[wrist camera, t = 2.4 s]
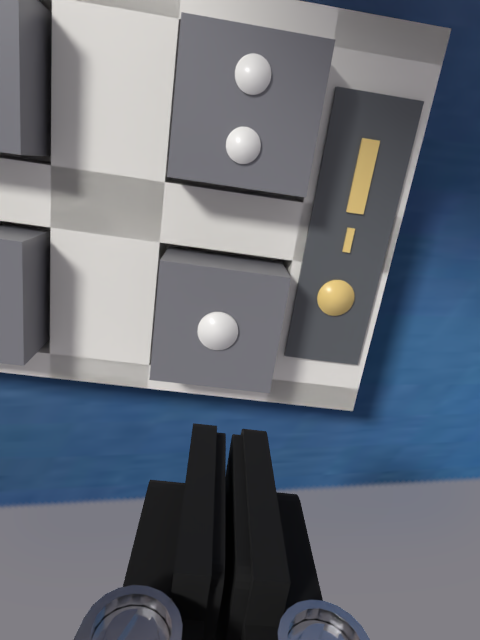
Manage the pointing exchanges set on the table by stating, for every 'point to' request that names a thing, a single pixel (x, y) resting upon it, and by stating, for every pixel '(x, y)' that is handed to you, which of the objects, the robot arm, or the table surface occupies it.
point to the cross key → (24, 292)
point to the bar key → (25, 77)
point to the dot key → (218, 319)
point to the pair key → (247, 105)
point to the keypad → (218, 191)
